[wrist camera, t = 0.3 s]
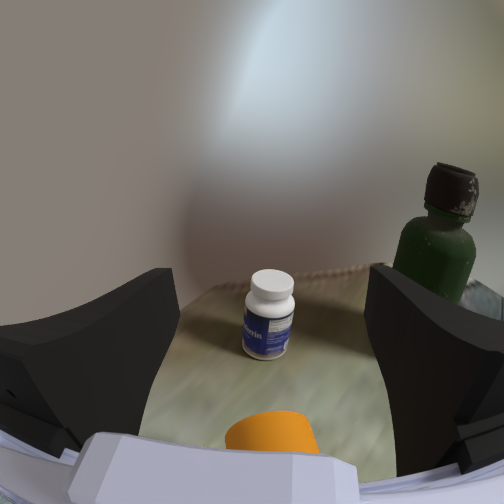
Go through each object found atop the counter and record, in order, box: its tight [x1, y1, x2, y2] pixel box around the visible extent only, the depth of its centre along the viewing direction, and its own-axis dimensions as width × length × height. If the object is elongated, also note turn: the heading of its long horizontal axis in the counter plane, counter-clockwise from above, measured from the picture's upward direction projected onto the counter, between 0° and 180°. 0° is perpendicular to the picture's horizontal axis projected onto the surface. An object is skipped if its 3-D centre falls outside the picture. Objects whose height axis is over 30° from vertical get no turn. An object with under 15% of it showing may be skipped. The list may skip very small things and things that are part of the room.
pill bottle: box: [242, 269, 295, 360], centre depth 36 cm, size 6×6×10 cm
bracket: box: [225, 411, 320, 454], centre depth 18 cm, size 11×7×12 cm, turn 99°
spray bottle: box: [392, 162, 479, 305], centre depth 35 cm, size 10×10×25 cm
